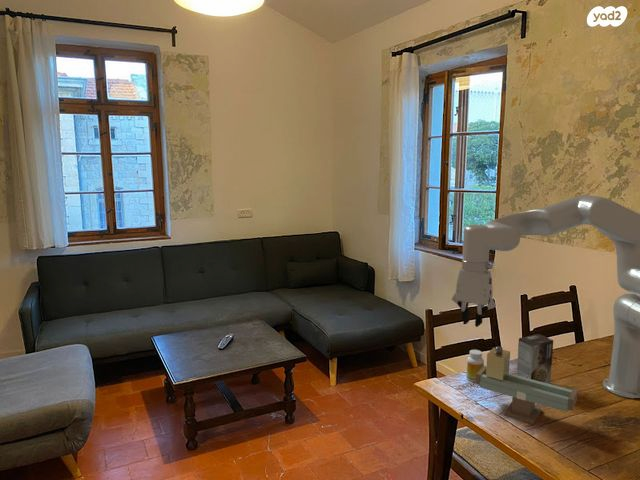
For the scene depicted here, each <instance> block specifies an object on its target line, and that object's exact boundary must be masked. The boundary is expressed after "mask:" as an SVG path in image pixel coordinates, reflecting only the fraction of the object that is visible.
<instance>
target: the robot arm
mask: <svg viewBox="0 0 640 480" xmlns="http://www.w3.org/2000/svg"><path fill="white" fill-rule="evenodd" d="M582 225H589V226H592V227H595V228H596V230H597V231H598V232H599V233H600V234H601V235H602V236H604V237H607V238H608V239H610V241H611V242H612V243H613V245H614V247H615V253H616V272H617V274H616V275H617V277H616V278H617V283H618V285H619V286H620V288H622V289H623V290H625V291H627V292H629V293H624V294H621V295H620V296H618V297H617V298H616V300H615V302H614V303H613V309H612V311H613V323H614V330H613V331H614V333H613V343H612V351H611V361H610V368H609V377H607V378H604V379H603V381H602V382H603V383H602V385H603V387H604V389H605V390H607V391H609V392H610V393H612V394H614V395H617V396H620V397H622V398H626V399H627V398H628V399H634V398H640V213H638V212H637V211H634V210H633V209H630V208H628V207H625V206H624V205H621V204H620V203H618V202H616V201H615V200H614V201H613V200H611V199H609V198H607V197H604V196H603V197H602V196H596V195H590V194H579V195H577V196H573V197H571V198H568V199H565V200H561V201H558V202H556V203H554V204H550V205H548V206H544V207H539V208H536V209H530V210H526V211H518V212H515V213H511V214H507V215H504V216H501V217H498V218H495V219H492V220H490V221H487V223H485V224H484V225H483V224H469V225H465V227H464V229H463V236H462V237H463V238H462V239H463V240H462V258H461V260H462V262H461V268H460V269H459V271H458V275H457V279H456V286H455V293H454V294H453V296H452V297H451V300H452V302H454V303H455V304H457V306H458V307H459V309H460V311H461V312H462V316H461V320H462V321H463V322H462V323H463V325H467V324H468V323H469V322H470V313H471V312H470V309H469V304H473V305H476V308H477V309H476V310H477V312H476V314H475V318H474V319H475V321H474V322H475V323H474V326H475V327H476V328H478V327H479V326H480V325H482V324H483V318H484V317H483V315H484V313H485V312H486V311H489V310H491V309H494V308H495V307H496V306H497V305H496V304H495V301H494V299H493V294H494V293H493V291H494V290H493V276H492V272H491V271H490V270H493V269H494V264H491V263H490V260H489V259H490V250H491V251H492V250H493V251H499V252H509V251H512V250H514V249H516V248H517V247H518V246H519V244H520V241H521V237H523V236H552V235H555V234H558V233H561V232H562V233H563V232H564V231H568V230H570V229H573V228H576V227H579V226H582Z"/></svg>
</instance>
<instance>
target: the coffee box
mask: <svg viewBox="0 0 640 480" xmlns="http://www.w3.org/2000/svg"><path fill="white" fill-rule="evenodd" d="M517 346H518V347H517V359H516V360H517V361H516V362H517V363H516V373H515V375H516V376H520V377H524V378H528V379H532V380H536V381H540V382H543V383H547V384H551V378H552V377H551V376H552V365H553V353H554V351H553V349H554V339H551V338H549V337H547V336H545V335H542V334H539V333H536V334H533V335H528V336H523V337H519V338H518V345H517Z"/></svg>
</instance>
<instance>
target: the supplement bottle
mask: <svg viewBox="0 0 640 480" xmlns="http://www.w3.org/2000/svg"><path fill="white" fill-rule="evenodd" d="M466 358H467V359H466V379H467V380H468V381H470V382H473V383H476V374H477V373H478V372H479V371H480V369H481V368H482V367H483V366H485V365H484V364H485V359H484V358H483V352H482V351H481V350H479V349H471V350H469V356H468V357H466Z"/></svg>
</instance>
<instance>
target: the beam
mask: <svg viewBox="0 0 640 480" xmlns="http://www.w3.org/2000/svg"><path fill="white" fill-rule="evenodd" d="M475 384H476V385H479V388H481V389H484V390H487V391H488V390H489V391H491V392H494V393H498V394H502V395H506V396H508V397H512V398H511V399H512V401H511V402H510V403H509V404H508V405H509V406H508V407H507V408H506V410H505V411H504V416H506V417H509V418H512V419H515V420H519V421H521V422H525V423H528V424H531V425H535V422H536V420H537V419H538V417H539V415H540V413H541V412H542V407H541V406H544V407H547V408H551V409H555V410H558V411H560V412H561V411H562V412H566V413H568V411H571V412H572V411H574V408H575V405H576V403H577V401H578V392H579V389H577V388H572V389H570V388H566V387H562V386H558V385H554V384H551V383H550V384H547V383H543V382H540V381H536V380H532V379H528V378H524V377H520V376H516V374H512V373H510V372H509V373H508V375H507V376H506V377H505V380H503V381H502V380H499V379H495V378H491V377H488V376H486V365H484V366H483V367H482V368H481V369H480V371H479V372H478V373H477V374H476V382H475ZM536 404H537V405H540V406H537V405H536Z"/></svg>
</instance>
